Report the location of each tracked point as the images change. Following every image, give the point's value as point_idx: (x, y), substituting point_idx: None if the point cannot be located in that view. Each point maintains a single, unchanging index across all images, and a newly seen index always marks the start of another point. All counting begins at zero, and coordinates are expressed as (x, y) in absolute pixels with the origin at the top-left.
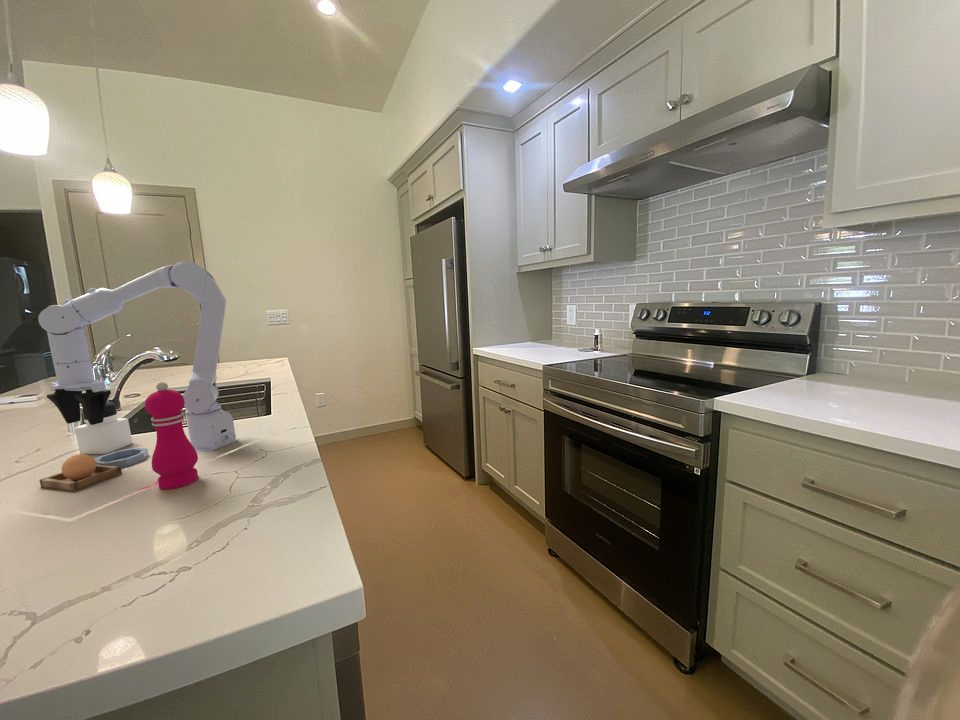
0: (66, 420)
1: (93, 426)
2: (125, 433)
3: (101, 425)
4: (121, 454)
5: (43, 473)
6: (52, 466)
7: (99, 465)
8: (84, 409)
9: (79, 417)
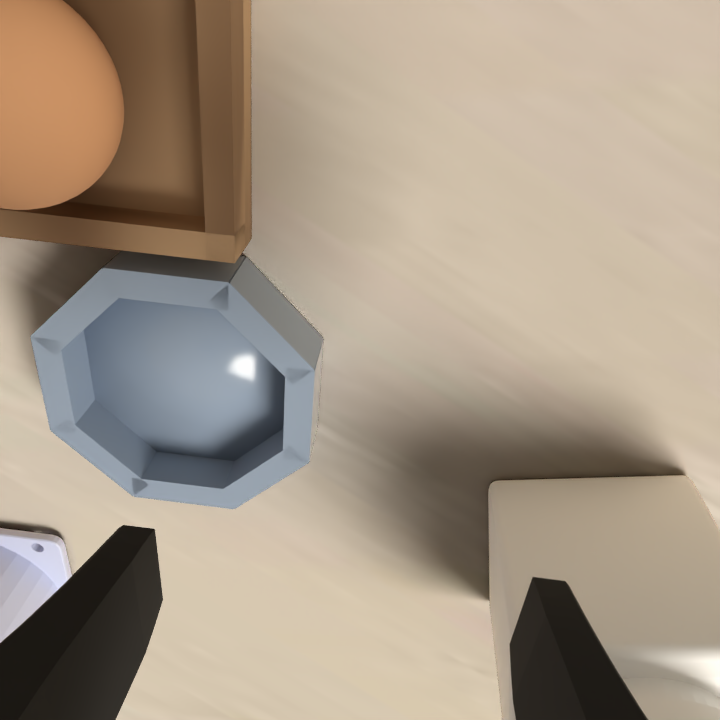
0: (552, 605)
1: None
2: (497, 658)
3: None
4: (273, 444)
5: (632, 200)
6: (707, 314)
7: (85, 234)
8: (17, 695)
9: (514, 682)
